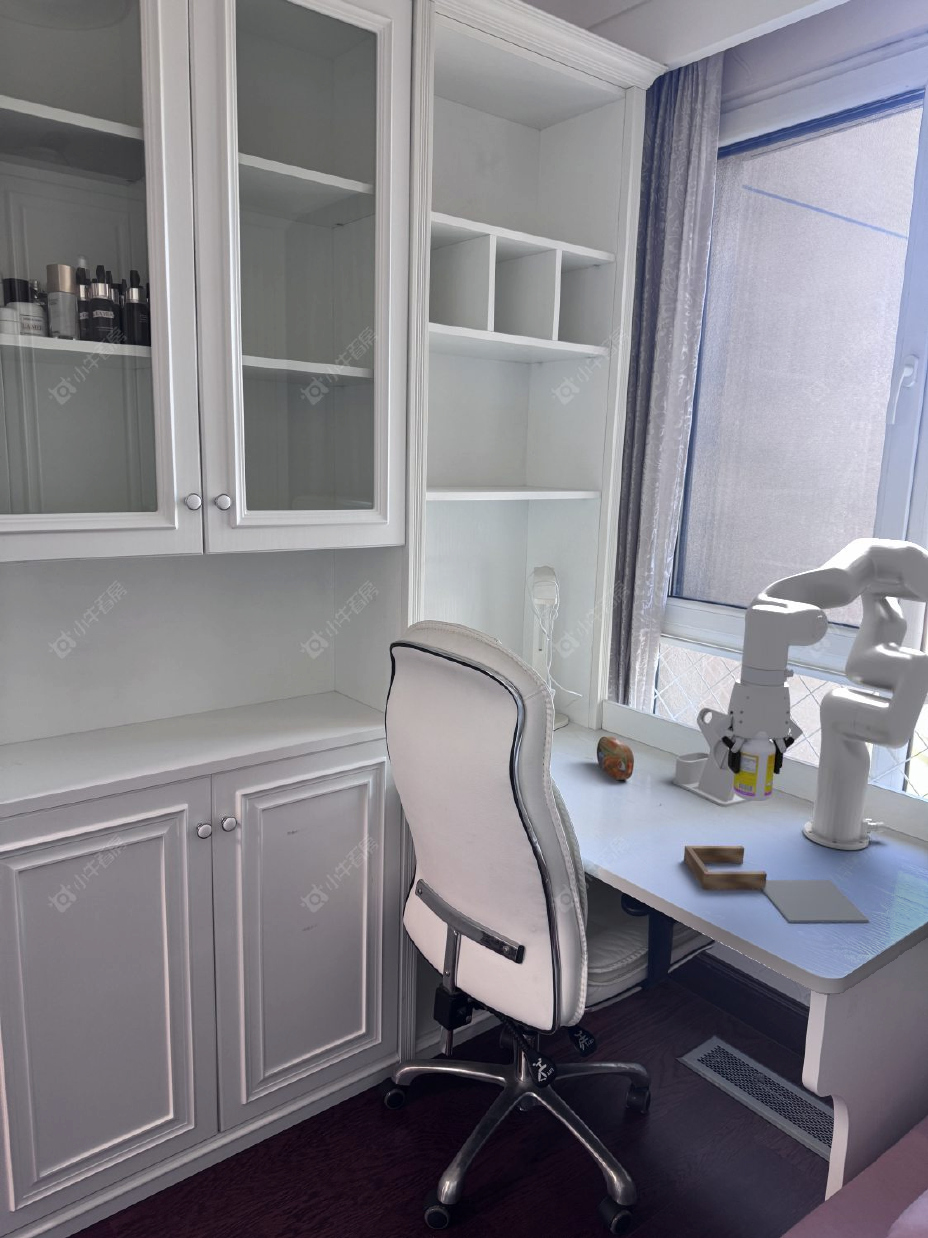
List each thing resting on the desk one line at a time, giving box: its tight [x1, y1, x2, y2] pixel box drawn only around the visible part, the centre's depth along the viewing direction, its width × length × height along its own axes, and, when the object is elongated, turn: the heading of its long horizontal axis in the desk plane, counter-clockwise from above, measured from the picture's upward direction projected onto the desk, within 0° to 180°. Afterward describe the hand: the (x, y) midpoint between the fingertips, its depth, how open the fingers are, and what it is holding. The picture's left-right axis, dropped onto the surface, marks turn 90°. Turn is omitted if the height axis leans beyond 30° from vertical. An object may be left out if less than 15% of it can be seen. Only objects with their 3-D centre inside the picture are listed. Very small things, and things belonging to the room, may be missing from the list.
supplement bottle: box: [733, 732, 776, 802], centre depth 155 cm, size 7×7×13 cm
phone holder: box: [672, 707, 751, 808], centre depth 201 cm, size 17×10×18 cm, turn 30°
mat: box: [761, 879, 870, 923], centre depth 152 cm, size 14×14×1 cm
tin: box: [596, 736, 635, 781], centre depth 211 cm, size 15×3×8 cm, turn 17°
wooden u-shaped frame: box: [683, 845, 768, 890], centre depth 161 cm, size 11×11×3 cm
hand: (754, 770), depth 155 cm, fingers closed on supplement bottle, 6 cm apart
